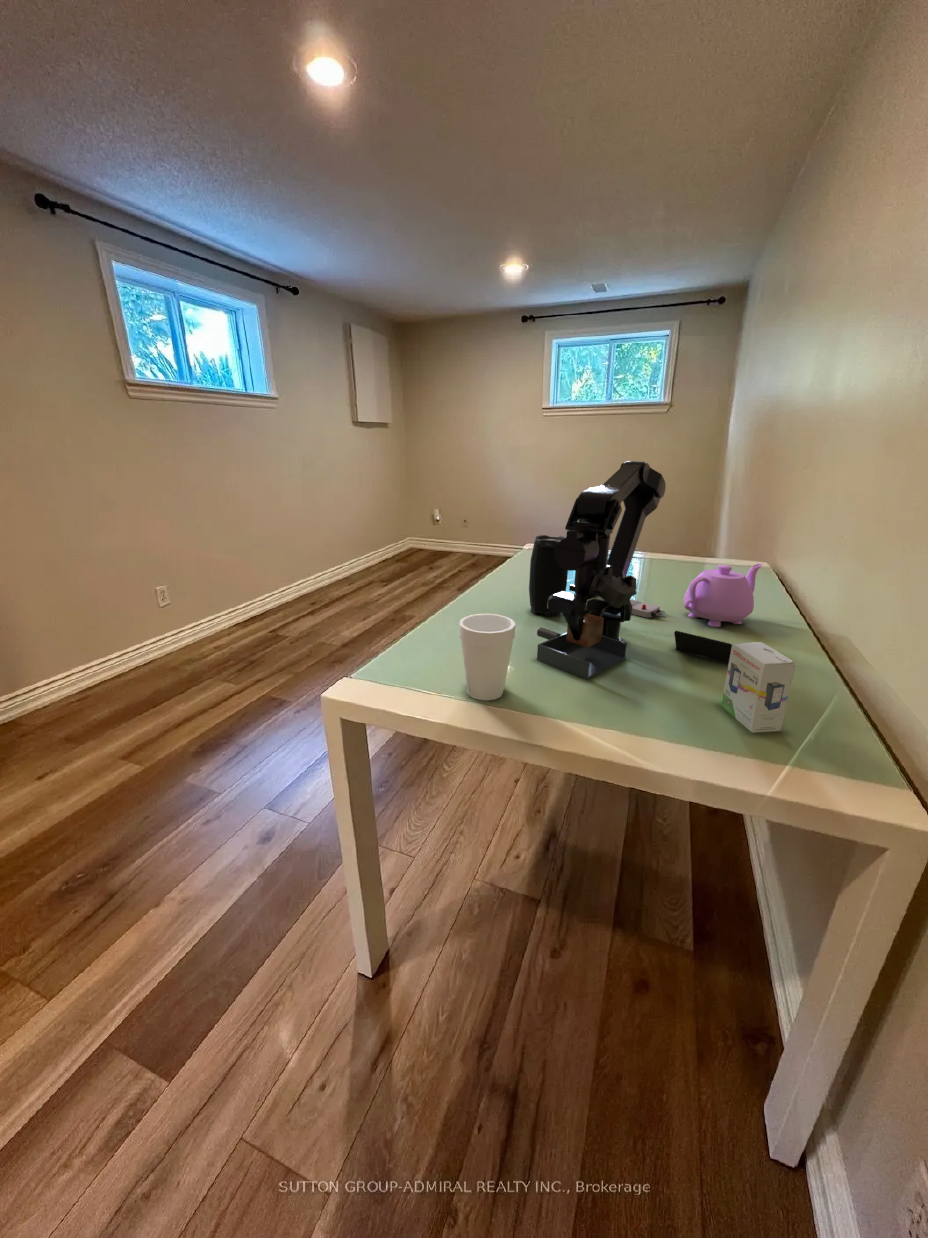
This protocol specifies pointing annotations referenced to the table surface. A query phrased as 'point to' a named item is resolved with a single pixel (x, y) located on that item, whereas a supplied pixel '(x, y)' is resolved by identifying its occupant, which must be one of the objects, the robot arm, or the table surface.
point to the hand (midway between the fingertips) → (584, 636)
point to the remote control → (645, 609)
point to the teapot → (721, 595)
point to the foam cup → (486, 653)
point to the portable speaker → (545, 575)
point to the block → (588, 631)
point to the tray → (579, 654)
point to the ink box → (757, 686)
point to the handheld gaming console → (703, 646)
